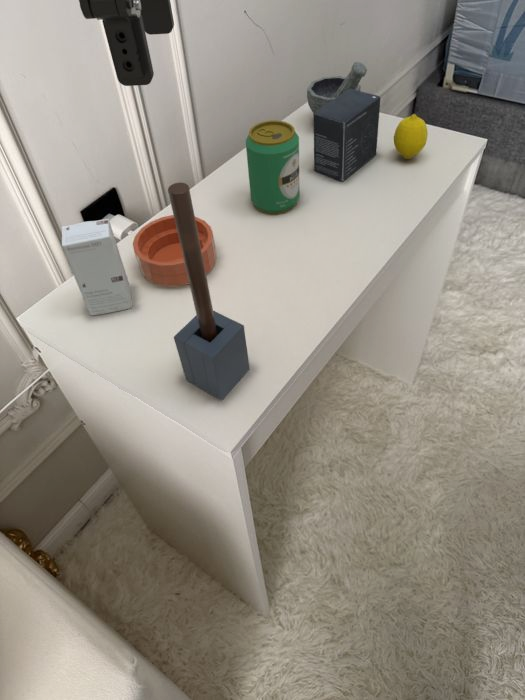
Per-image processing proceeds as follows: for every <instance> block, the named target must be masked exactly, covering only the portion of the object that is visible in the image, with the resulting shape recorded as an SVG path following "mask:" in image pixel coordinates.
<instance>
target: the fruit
mask: <svg viewBox="0 0 525 700" xmlns="http://www.w3.org/2000/svg"><path fill="white" fill-rule="evenodd" d="M428 135H429V134H428V127H427V124H426V122H425V120H424V119H422V118H421V117H420V116H417V114H416V113H412V114H411V115H410V116H407V117H405V118H402V119H401V121H399V123H398V124H397V126H396V128H395V130H394V135H393V145H394V148H395V150H396V151H397V152H398V153H399V155H401V156H402V158H403V159H405V160H410V159H412V157H414V156H416V155H418V154H419V153H420V152H421V151H422V150H423V149H424V147H425V146H426V144H427V140H428Z"/></svg>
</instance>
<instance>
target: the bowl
mask: <svg viewBox="0 0 525 700" xmlns="http://www.w3.org/2000/svg"><path fill="white" fill-rule="evenodd" d="M195 221H196V226H197V231H198V236H199V241H200V246H201V251H202V257H203V262H204V267H205V272H206V275H207V274H208V273H210V272H211V271H212V269H213V267H214V266H215V264H216V261H217V249H216V243H215V238H214V232H213V229H212V227H211V225H209V223H208V222H207V221H206V220H204V219H201V218H200V217H198V216H195ZM132 248H133V253H134V256H135V258H136V261H137V265H138V268H139V271H140V273H141V275H142V276H143V277H144V278H145V279H146V280H147V281H149V282H151V283H152V284H155V285H160V286H163V287H180V286H184V285H188V284H189V280H188V276H187V271H186V267H185V263H184V258H183V254H182V250H181V245H180V241H179V237H178V232H177V228H176V224H175V219H174V215H173V214H171V215H167V216H162V217H159V218H156V219H155V220H152V221H150V222H148V223H147V224H145V225H144V226H142V227H141V228H140V230H138V232H137V233H136V234H135V236H134V239H133V242H132ZM189 285H190V284H189Z"/></svg>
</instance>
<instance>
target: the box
mask: <svg viewBox="0 0 525 700" xmlns="http://www.w3.org/2000/svg"><path fill="white" fill-rule="evenodd" d="M380 109H381V95H377V94H374V93H369V92H364V91H361V90H360V91H357V90H353V89H348V90H347V91H346V92H344V93H343V94H341V95H340V96H338V97H337V98H335V99H334V100H332V101H331V102H329V103H328V104H326V105H325V106H323V107H322V108H320V109H319V110H317V111H316V112H314V113H313V112H312V115H313V117H312V118H313V171H315V172H317V173H320V174H322V175H325V176H327V177H330V178H333V179H335V180H338V181H340V182H344V181H346V180H347V179H348V178H349V177H351V175H353V174H354V173H355V172H356V171H359V169H360V168H362V167H363V166H364V165H365V164H366V163H368V162H369V161H370V160H371V159H373V158H374V157H375V156H376V155H377V150H378V149H377V148H378V137H379V123H380V111H381V110H380Z"/></svg>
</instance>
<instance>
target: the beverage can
mask: <svg viewBox="0 0 525 700" xmlns="http://www.w3.org/2000/svg"><path fill="white" fill-rule="evenodd" d="M245 149H246V151H245V152H246V161H247V162H246V163H247V172H248V182H249V193H250V200H251V203H252V204H253V205H254V207H255V209H257V210H258V211H260V212H261V213H264V214H267V215H280V214H285V213H287V212H290V211H291V210H292V209H294V208H295V207H296V205H297V202H298V200H299V199H300V137H299V136H298V134H297V132H296V130H295V127H294V126H293V125H292V124H291V123H289V122H287V121H283V120H277V119H276V120H265V121H261V122H259V123H256V124H254V125H253V126H251V128H250V129H249V131H248V135H247V137H246V139H245Z"/></svg>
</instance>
